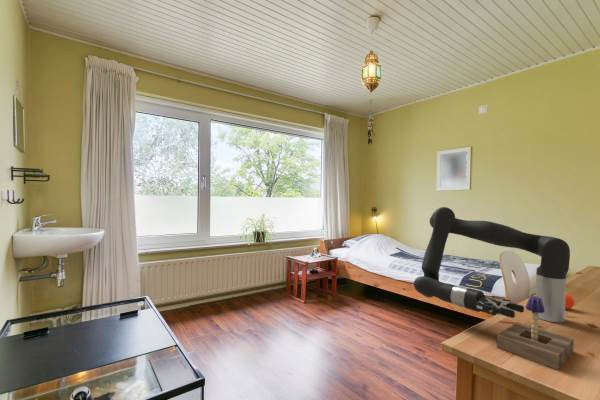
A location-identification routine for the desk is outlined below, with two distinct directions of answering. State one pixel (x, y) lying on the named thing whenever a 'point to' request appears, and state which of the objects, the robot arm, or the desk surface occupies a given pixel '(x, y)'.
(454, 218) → the robot arm
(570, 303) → the clementine
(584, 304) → the desk surface
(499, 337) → the socket block
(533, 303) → the toy lamp
